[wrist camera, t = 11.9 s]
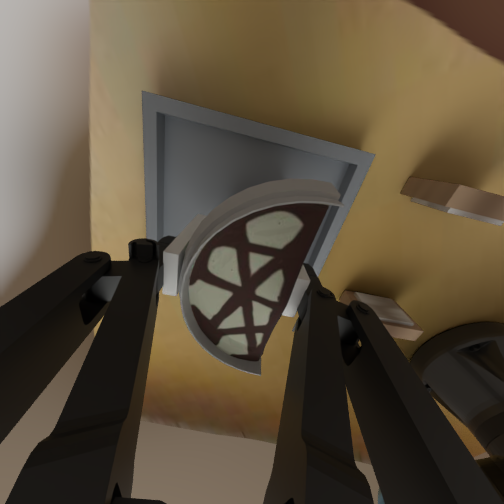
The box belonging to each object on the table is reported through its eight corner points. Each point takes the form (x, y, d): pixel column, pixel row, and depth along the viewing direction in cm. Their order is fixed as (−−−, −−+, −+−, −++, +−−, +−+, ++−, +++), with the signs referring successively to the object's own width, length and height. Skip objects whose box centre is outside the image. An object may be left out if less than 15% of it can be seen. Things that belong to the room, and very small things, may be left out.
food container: (223, 147, 15) (179, 139, 6) (297, 169, 16) (351, 190, 7) (201, 273, 21) (162, 364, 12) (256, 285, 21) (258, 380, 12)
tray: (360, 154, 17) (375, 154, 15) (297, 295, 25) (302, 309, 23) (157, 99, 16) (141, 90, 13) (158, 269, 23) (148, 281, 21)
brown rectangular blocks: (473, 193, 19) (540, 206, 14) (387, 308, 26) (414, 341, 21) (409, 176, 18) (460, 184, 14) (339, 299, 25) (357, 330, 21)
